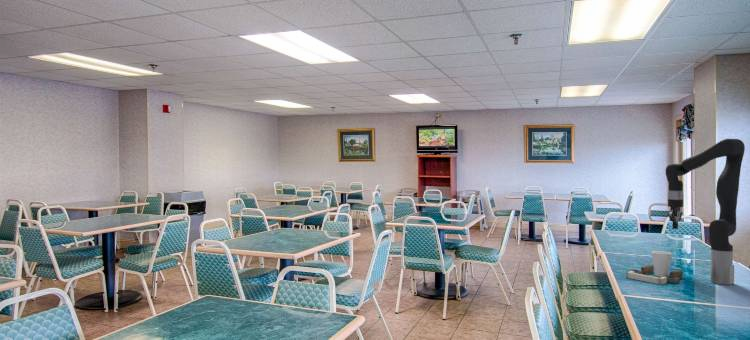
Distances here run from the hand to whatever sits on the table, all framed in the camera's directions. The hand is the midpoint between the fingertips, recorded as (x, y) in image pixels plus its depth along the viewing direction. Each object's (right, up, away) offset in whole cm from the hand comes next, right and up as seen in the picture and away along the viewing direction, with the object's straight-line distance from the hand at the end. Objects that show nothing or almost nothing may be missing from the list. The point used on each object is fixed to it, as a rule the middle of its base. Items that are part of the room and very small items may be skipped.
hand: (675, 228), depth 270 cm
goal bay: (-27, -25, -18) cm, 41 cm away
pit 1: (-27, -25, -7) cm, 37 cm away
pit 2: (-16, -25, -22) cm, 37 cm away
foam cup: (-13, -25, -9) cm, 30 cm away
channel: (-13, -25, -9) cm, 30 cm away
